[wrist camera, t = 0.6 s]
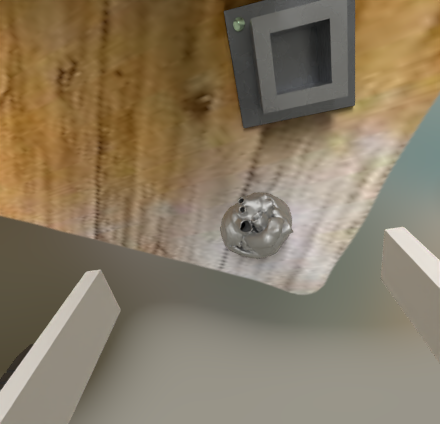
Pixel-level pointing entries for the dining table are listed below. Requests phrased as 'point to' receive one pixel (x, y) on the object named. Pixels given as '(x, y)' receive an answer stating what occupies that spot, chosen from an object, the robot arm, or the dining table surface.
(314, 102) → the port panel
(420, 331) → the robot arm
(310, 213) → the dining table surface
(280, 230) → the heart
